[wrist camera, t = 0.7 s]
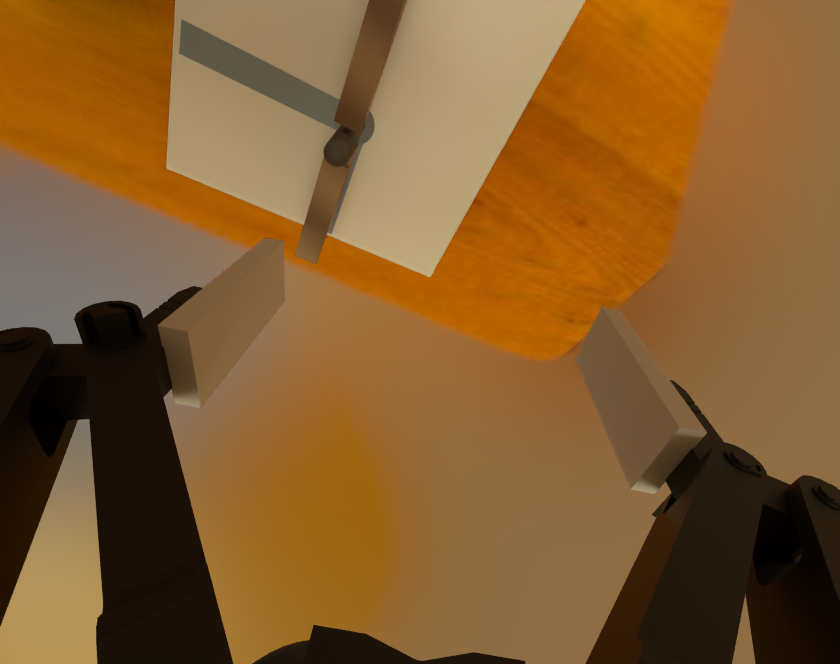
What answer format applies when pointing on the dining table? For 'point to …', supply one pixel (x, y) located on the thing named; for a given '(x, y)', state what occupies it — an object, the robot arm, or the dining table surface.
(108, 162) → the dining table surface
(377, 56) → the fence panel
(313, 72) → the card
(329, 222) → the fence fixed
